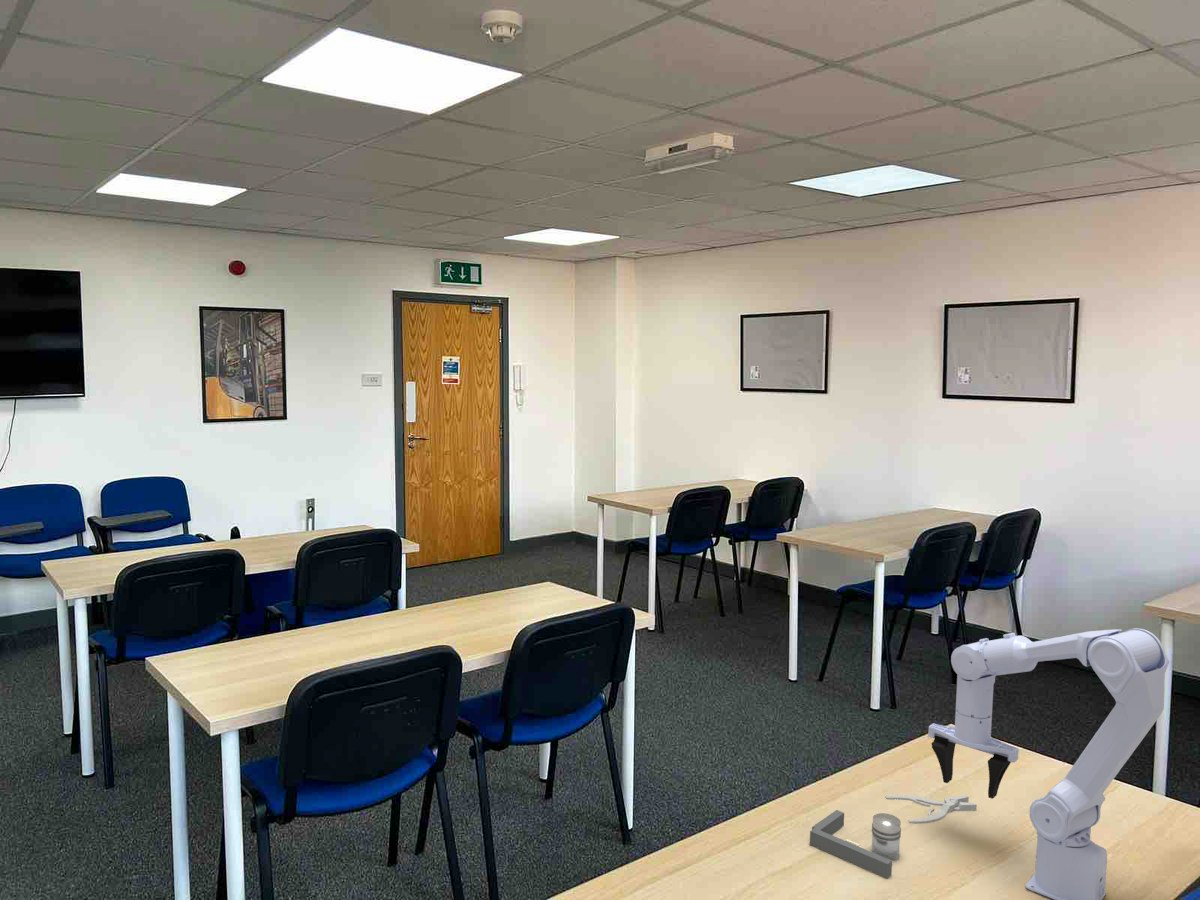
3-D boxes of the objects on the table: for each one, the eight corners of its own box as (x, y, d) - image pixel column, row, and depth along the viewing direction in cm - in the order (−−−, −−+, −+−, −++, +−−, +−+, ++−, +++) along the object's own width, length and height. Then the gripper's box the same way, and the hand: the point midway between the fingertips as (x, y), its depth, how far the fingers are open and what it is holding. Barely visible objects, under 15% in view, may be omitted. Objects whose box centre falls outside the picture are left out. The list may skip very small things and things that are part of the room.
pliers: (884, 791, 163) (957, 787, 165) (884, 799, 163) (957, 795, 165) (910, 817, 153) (987, 812, 155) (910, 825, 153) (987, 821, 155)
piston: (904, 854, 143) (906, 820, 143) (891, 865, 140) (892, 829, 139) (879, 843, 146) (881, 810, 146) (865, 853, 143) (867, 819, 143)
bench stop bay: (914, 854, 143) (915, 840, 143) (887, 878, 136) (887, 863, 136) (836, 822, 153) (836, 809, 153) (807, 843, 146) (807, 829, 146)
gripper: (1026, 717, 144) (1022, 795, 145) (941, 695, 154) (937, 767, 155) (1011, 729, 139) (1007, 809, 140) (924, 705, 149) (921, 779, 150)
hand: (969, 788), depth 147 cm, fingers open, 7 cm apart
